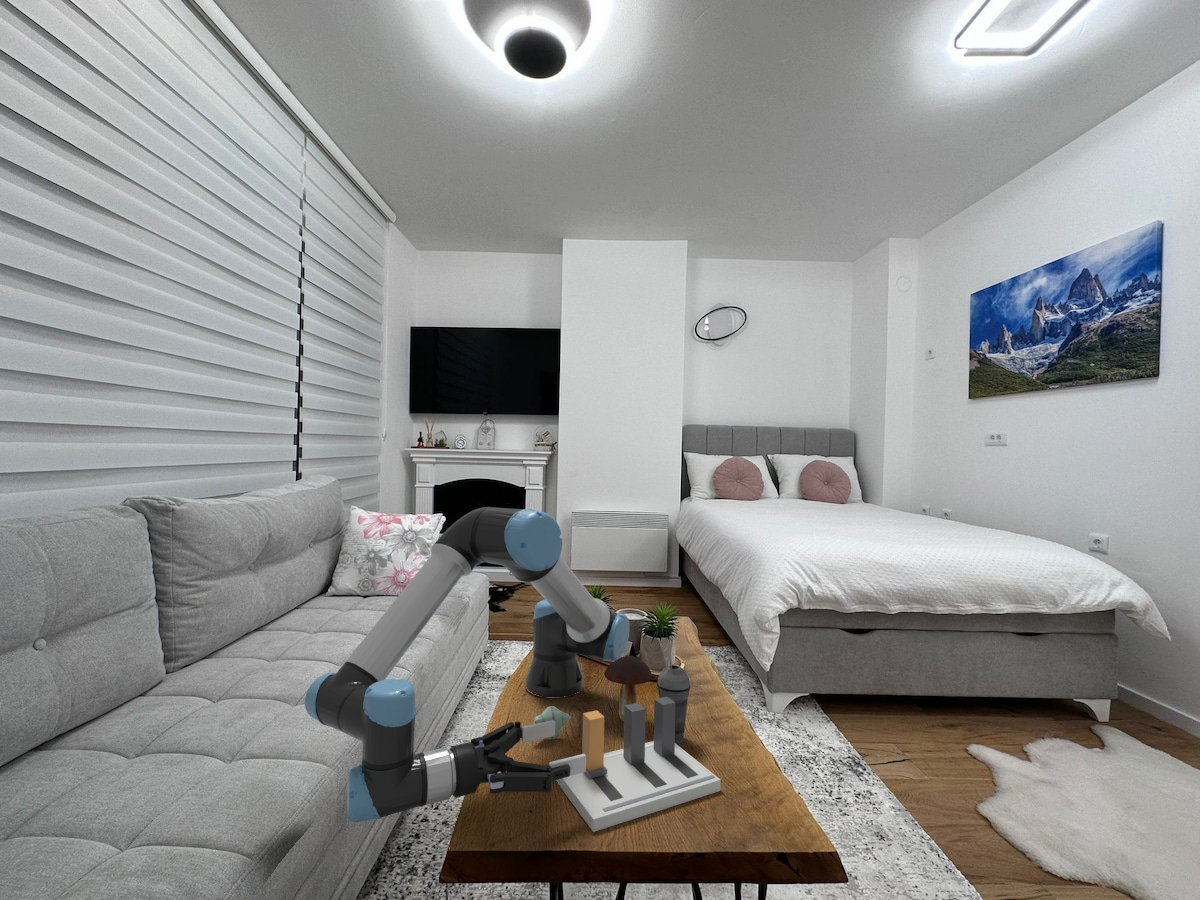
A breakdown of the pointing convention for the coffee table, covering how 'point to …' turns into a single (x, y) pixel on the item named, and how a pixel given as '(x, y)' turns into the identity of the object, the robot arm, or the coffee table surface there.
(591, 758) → the breaker handle
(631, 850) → the coffee table surface
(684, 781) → the slotted peg board
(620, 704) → the decorative mushroom
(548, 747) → the coffee table surface
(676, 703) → the beverage cup
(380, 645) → the robot arm
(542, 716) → the green toy bird
